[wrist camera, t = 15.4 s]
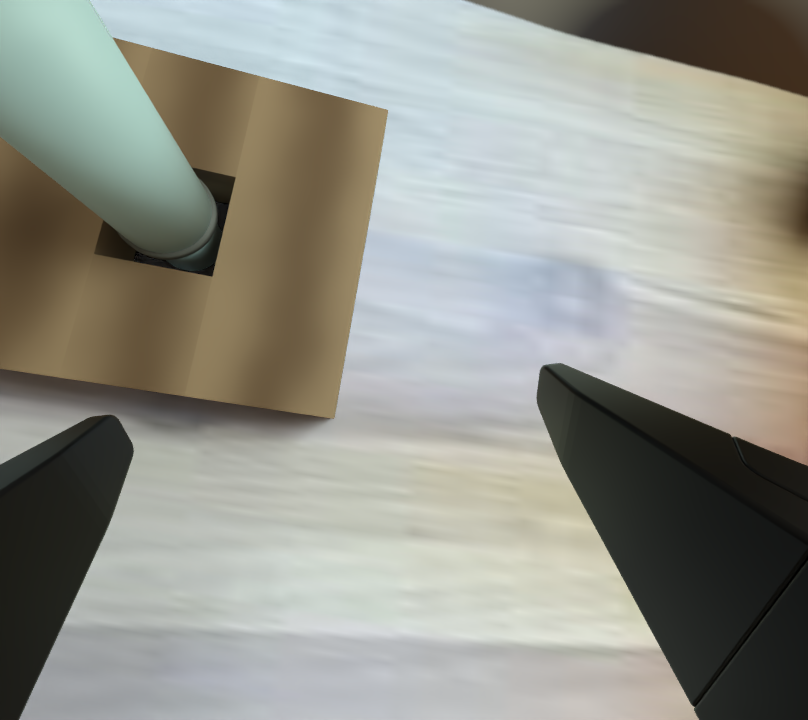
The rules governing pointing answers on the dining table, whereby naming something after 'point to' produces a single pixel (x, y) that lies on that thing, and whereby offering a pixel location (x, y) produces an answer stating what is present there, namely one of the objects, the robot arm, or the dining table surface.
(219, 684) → the dining table surface
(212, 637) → the dining table surface
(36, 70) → the peg
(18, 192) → the board
